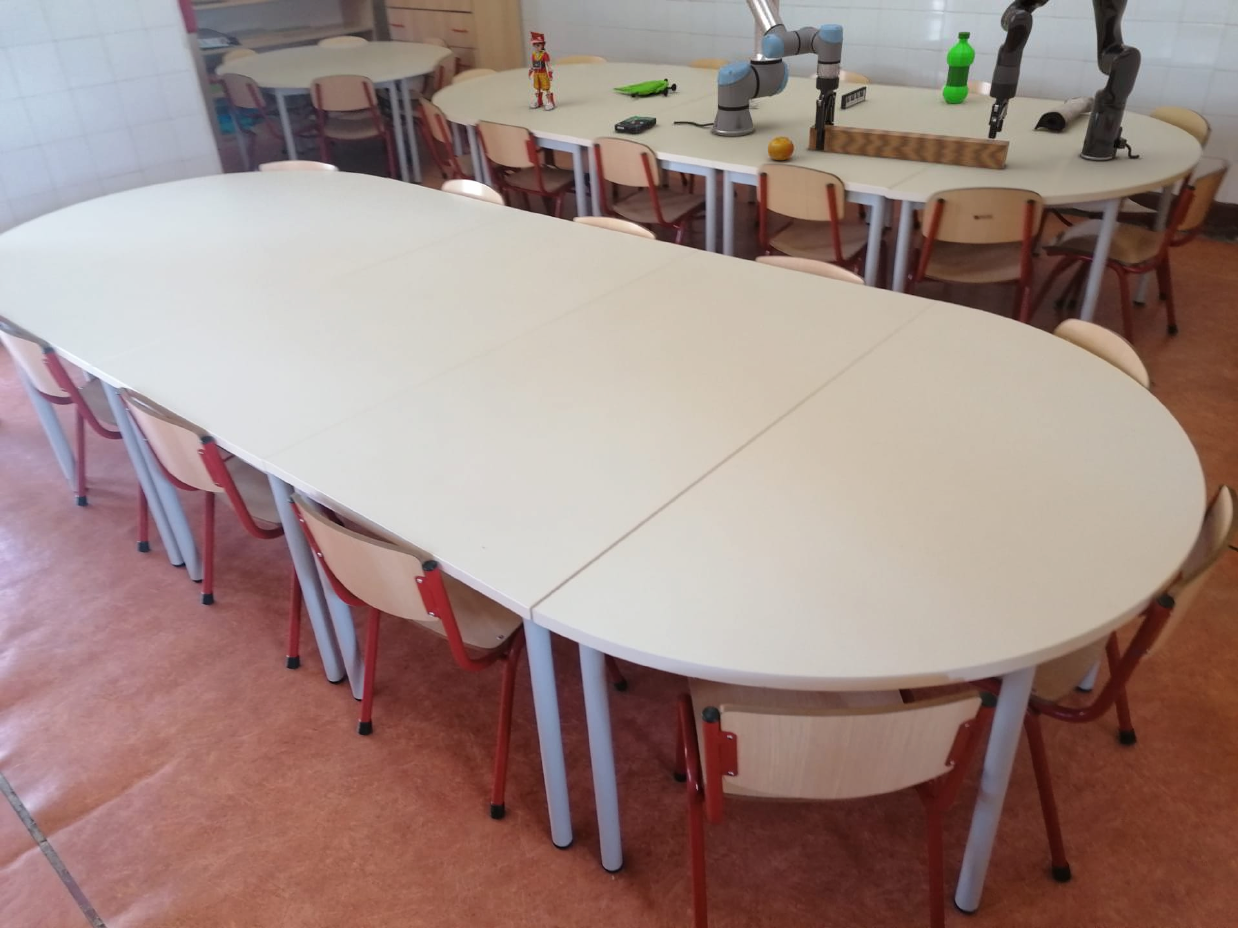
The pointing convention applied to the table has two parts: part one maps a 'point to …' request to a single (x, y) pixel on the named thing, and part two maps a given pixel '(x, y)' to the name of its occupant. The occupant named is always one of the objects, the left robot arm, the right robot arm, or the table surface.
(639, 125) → the disk drive
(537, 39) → the toy
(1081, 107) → the rolled mat
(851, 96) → the midi keyboard
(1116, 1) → the right robot arm
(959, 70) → the plastic bottle
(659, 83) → the toy
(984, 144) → the beam
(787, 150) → the fruit
